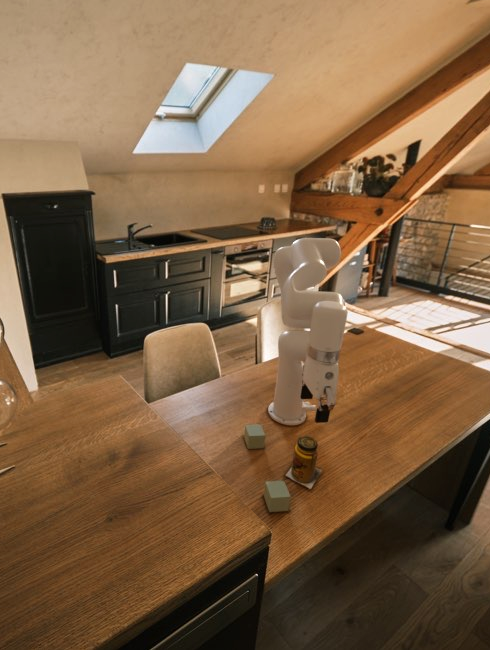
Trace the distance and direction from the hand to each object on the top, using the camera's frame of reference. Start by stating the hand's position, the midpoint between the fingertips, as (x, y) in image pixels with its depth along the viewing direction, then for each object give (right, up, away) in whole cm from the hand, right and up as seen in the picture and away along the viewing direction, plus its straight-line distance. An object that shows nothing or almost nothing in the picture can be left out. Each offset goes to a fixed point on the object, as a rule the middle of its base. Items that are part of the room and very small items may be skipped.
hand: (313, 409), depth 99 cm
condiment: (+1, -21, +9) cm, 22 cm away
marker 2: (-10, -24, 0) cm, 26 cm away
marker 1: (-11, -16, +20) cm, 28 cm away
